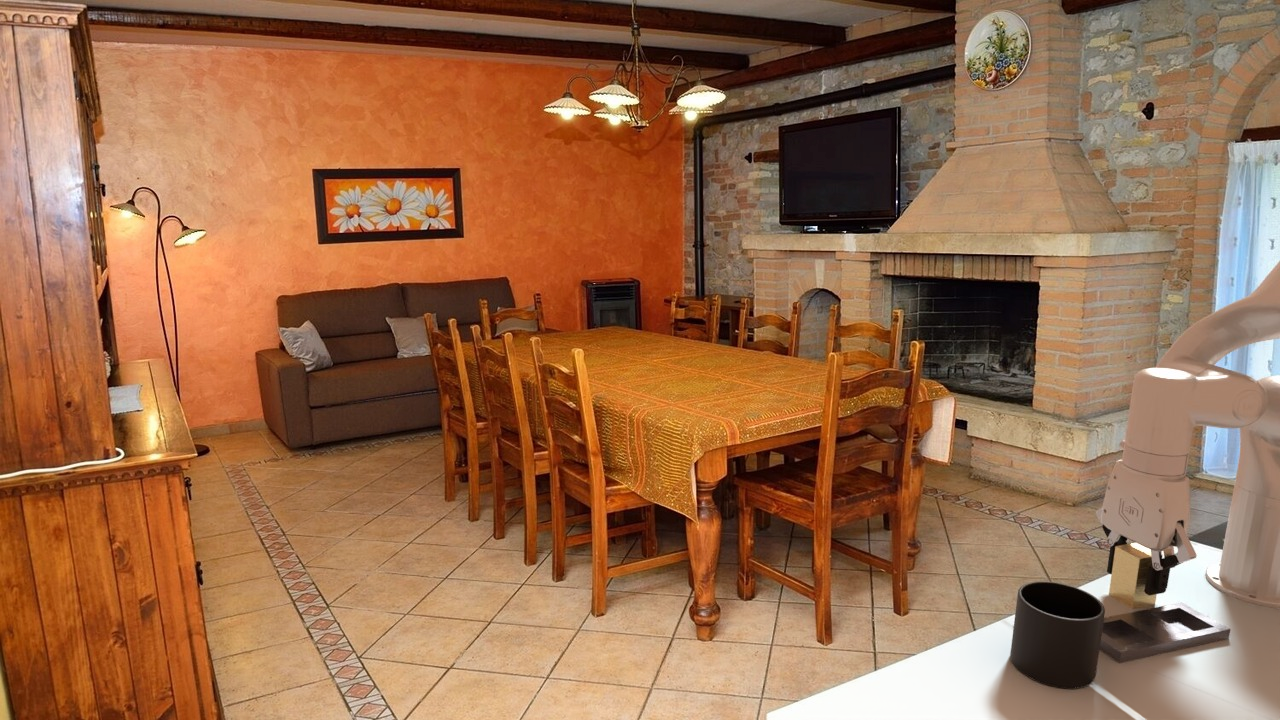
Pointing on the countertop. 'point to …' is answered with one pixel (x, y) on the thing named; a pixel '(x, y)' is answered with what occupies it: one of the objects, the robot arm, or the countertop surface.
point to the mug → (1057, 634)
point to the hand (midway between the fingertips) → (1135, 581)
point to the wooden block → (1131, 575)
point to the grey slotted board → (1158, 632)
